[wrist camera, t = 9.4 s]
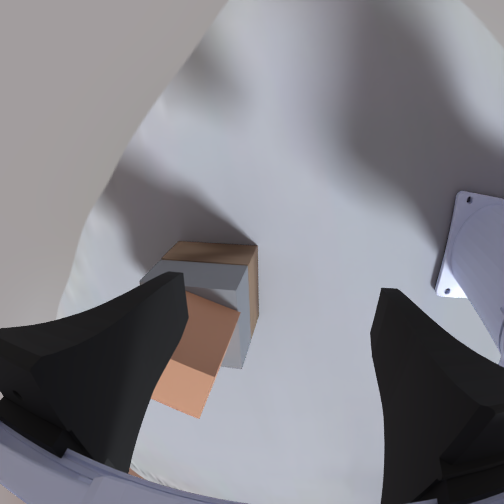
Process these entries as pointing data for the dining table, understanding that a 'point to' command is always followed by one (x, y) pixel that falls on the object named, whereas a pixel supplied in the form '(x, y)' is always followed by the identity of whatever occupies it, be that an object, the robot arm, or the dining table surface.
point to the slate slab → (217, 297)
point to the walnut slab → (223, 255)
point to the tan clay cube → (196, 356)
